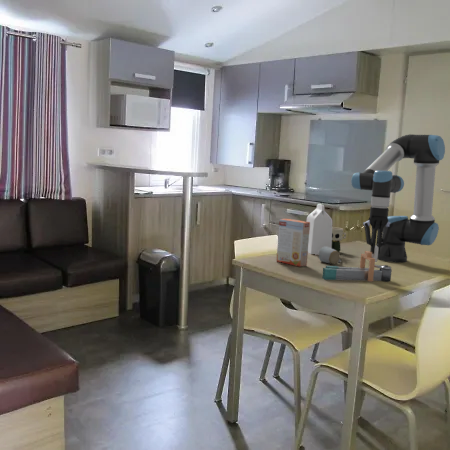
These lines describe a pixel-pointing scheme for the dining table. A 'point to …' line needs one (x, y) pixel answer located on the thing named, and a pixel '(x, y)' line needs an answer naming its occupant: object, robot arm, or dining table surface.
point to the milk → (319, 230)
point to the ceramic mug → (329, 255)
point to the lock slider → (371, 264)
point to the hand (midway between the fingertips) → (374, 261)
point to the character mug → (337, 238)
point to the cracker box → (293, 242)
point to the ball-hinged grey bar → (355, 274)
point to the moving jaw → (361, 268)
